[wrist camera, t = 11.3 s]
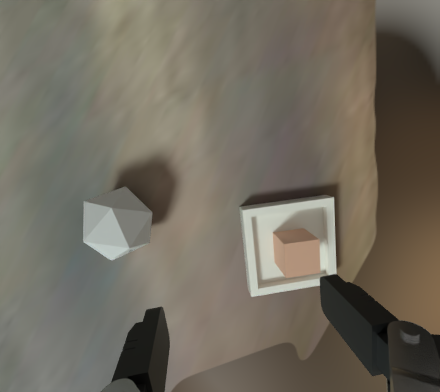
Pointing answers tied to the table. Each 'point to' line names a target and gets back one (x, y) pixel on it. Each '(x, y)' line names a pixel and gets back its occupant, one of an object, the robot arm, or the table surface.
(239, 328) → the table surface
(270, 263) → the tray
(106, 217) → the die
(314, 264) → the cube
